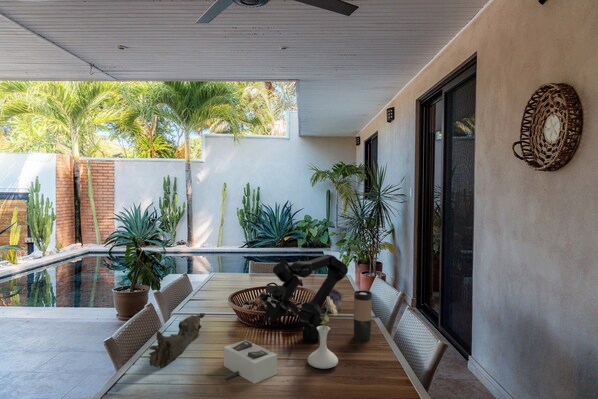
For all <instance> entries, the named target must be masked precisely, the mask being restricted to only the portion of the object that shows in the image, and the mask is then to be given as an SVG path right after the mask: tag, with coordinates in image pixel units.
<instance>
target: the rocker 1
mask: <svg viewBox="0 0 598 399" xmlns="http://www.w3.org/2000/svg"><path fill="white" fill-rule="evenodd" d="M243 341H244V340H243ZM248 341H249V340H247V341H244V342H242V343H241V344H239V345H237V346H235V347H234V348H233V349H234V350H236V351H241V350H244V349H247V348H249V347H251V346H252V343H253V342H251V341H249V342H248ZM250 342H251V343H250Z"/></svg>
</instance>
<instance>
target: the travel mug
mask: <svg viewBox="0 0 598 399" xmlns="http://www.w3.org/2000/svg"><path fill="white" fill-rule="evenodd" d="M353 294H354V295H353V296H354V298H353V301H354V302H353V338H354V340H357V341H362V342H365V341H369V340H371V332H372V329H371V328H372V304H373V303H372V291H368V290H356V291H354V293H353Z"/></svg>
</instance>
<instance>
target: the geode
mask: <svg viewBox="0 0 598 399" xmlns="http://www.w3.org/2000/svg"><path fill="white" fill-rule="evenodd" d="M329 297H330V300H331V299H332V300H333V303H334V305H335V306H336V308H335V309H336V310H337V312H338V313H339V312H340V311H341V308H342V302H343V298H344V294H343V293H341V292H339V290H337V289H334V288H333V289H332V291H331V292H330V294H329V296H328V298H329ZM328 307H329V305H328V302H327V304H326V305H325V307H324V306H323V308H324V309H326V311H327V309H328ZM327 313H332V312H331V310H330V308H329V309H328V311H327ZM332 314H333V313H332Z"/></svg>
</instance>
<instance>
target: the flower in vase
mask: <svg viewBox="0 0 598 399" xmlns="http://www.w3.org/2000/svg"><path fill="white" fill-rule="evenodd" d="M327 302H328V305H329V307H328V309H329V308H330V310H331V312H332V314H333V316H338V314H339V311H338V312H337V310H336V309H335V308H336V306H335V305H334V303H333V300H332V299H331V300H330V297H329V298H328V296H327ZM328 309H326V312H325V313H324V317H323V320H322V322H321V323H320V324H323V326H318V327H317V330H318V331H319V347H318V348H317V349H316V350H314V351H313V352H312V353H310V355H309V356H308V358H307V363H308V364H309V365H310V366H311V367H314V368H317V369H323V370H325V369H330V368H331V369H332V368H334V367H335V366H337V365H338V363H339V359H338V357H337V356H336V354H335V353H334V352H332V351H331V350H329V349H328V347H327V337H328V333H329V331H330V330H331V327H329V326H328V325H327V326H326V325H325V324H327V323H328V322H329V320H330V318H329V315H327V313H328V312H327V311H328ZM331 312H330V313H331Z"/></svg>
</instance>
